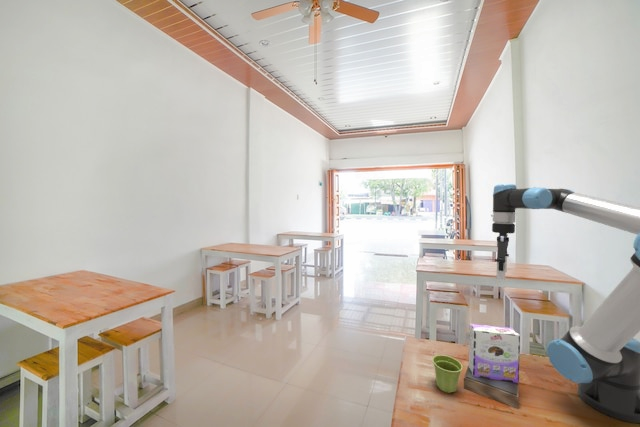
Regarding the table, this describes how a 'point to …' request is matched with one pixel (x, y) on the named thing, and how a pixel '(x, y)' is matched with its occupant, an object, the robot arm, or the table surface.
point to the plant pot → (447, 372)
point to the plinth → (493, 388)
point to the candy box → (494, 352)
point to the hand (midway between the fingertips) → (501, 275)
